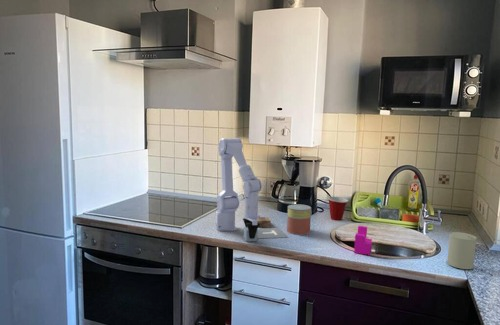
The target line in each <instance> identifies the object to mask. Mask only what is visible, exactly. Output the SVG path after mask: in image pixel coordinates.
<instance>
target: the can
mask: <svg viewBox="0 0 500 325" xmlns="http://www.w3.org/2000/svg"><path fill="white" fill-rule="evenodd" d="M477 239H478V237H477V236H475V235H473V234H470V233H466V232H459V231H453V232H450V233H449V240H448V252H447V259H446V264H448V265H449V266H451V267H454V268H458V269H462V270H472V269H474V267H475V265H474V263H475V255H476V246H477Z"/></svg>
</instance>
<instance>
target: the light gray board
mask: <svg viewBox="0 0 500 325" xmlns="http://www.w3.org/2000/svg"><path fill="white" fill-rule="evenodd" d="M257 230H258V235H257V240H258V239H259V240H260V239H261V240H262V239H281V238H283V239H285V238H289V236H288V235H287V234H286V233H285V232H284V231H283V230H281V228H279V227H263V228H258V229H257Z"/></svg>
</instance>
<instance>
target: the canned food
mask: <svg viewBox="0 0 500 325" xmlns="http://www.w3.org/2000/svg"><path fill="white" fill-rule="evenodd" d="M286 216H287V218H286V232H287V233H288V234H290V235H297V236H304V235H309V234H310V233H311V218H312V217H311V216H312V207H311V206H310V205H306V204H299V203H298V204H297V203H294V204H289V205H287V215H286Z"/></svg>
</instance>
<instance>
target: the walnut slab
mask: <svg viewBox="0 0 500 325" xmlns="http://www.w3.org/2000/svg"><path fill="white" fill-rule="evenodd" d="M257 223H259V224H260V225H259V227H258V228H271V223H272V222H271V219H270V218H269V217H268V216H260V218H258V220H257Z"/></svg>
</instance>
